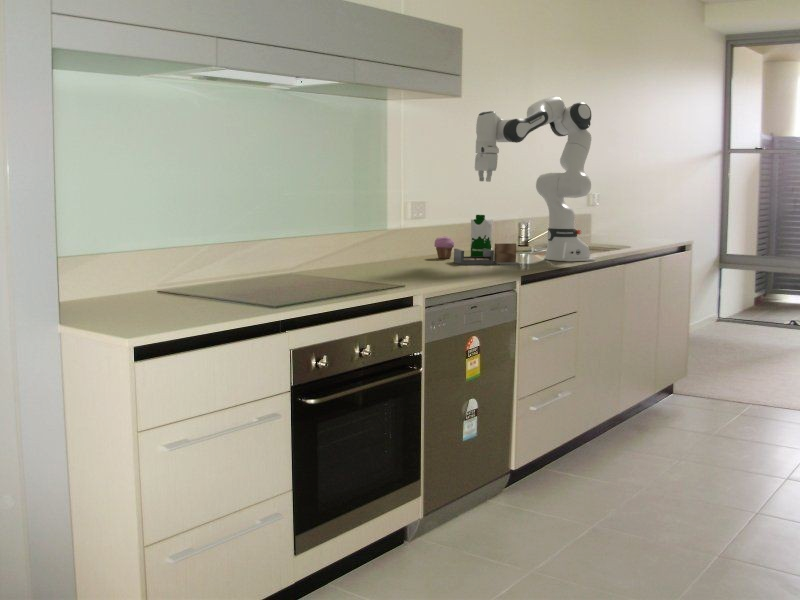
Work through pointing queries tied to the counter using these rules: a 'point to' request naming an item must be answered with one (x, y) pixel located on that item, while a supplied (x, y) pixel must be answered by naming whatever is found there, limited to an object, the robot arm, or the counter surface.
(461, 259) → the rack
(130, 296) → the counter surface
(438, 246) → the cupcake
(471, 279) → the counter surface
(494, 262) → the grey mat
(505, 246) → the brown flat block
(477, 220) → the milk carton
